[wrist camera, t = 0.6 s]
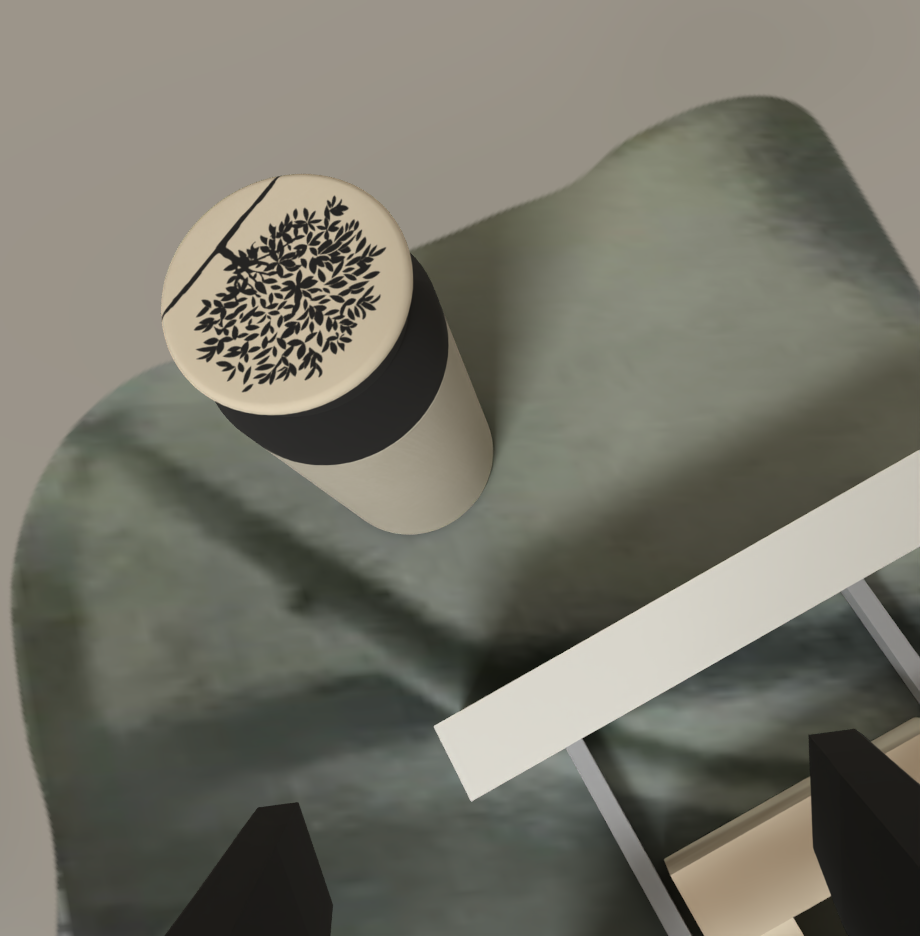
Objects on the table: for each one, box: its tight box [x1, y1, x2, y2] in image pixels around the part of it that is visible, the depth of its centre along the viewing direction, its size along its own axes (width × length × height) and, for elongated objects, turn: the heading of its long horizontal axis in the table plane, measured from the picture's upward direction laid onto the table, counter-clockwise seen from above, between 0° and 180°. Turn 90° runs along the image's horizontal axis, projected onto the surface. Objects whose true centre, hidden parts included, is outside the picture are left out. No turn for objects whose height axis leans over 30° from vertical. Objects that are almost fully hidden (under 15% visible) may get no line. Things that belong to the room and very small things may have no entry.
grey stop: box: [434, 450, 920, 936], centre depth 30 cm, size 23×22×6 cm
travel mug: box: [161, 174, 493, 534], centre depth 31 cm, size 8×8×18 cm
